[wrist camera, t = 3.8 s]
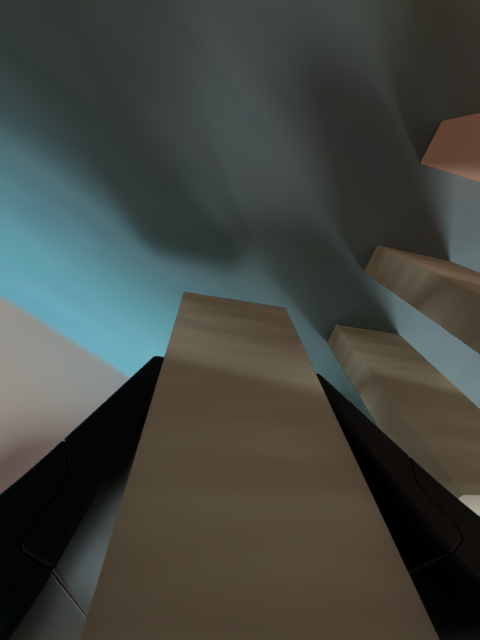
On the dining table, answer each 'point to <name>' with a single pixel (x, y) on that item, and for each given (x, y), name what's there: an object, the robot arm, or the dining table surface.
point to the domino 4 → (414, 407)
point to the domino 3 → (432, 289)
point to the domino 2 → (456, 147)
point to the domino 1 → (248, 501)
